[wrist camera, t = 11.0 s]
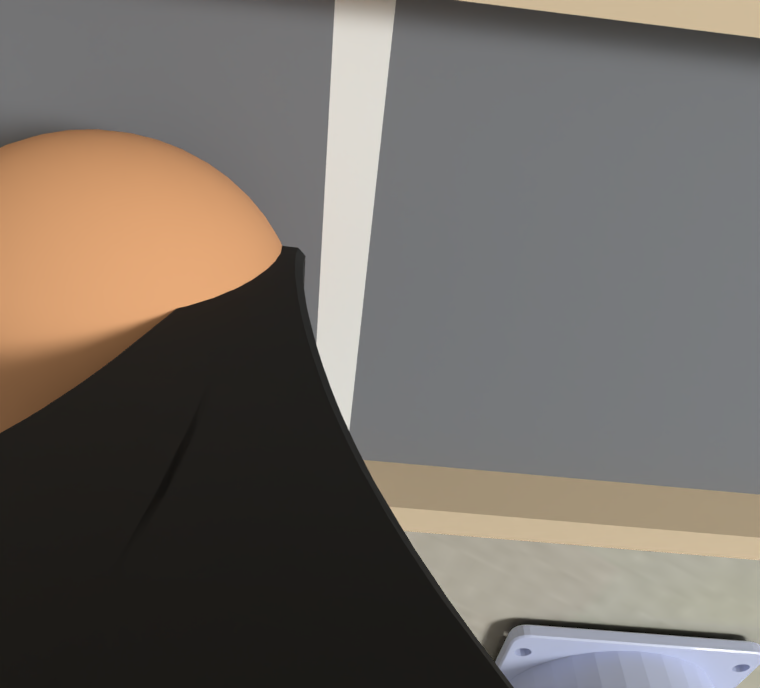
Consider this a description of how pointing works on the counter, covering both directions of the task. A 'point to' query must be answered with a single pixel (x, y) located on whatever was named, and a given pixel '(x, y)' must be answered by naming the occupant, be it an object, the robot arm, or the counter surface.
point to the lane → (478, 232)
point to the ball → (108, 252)
